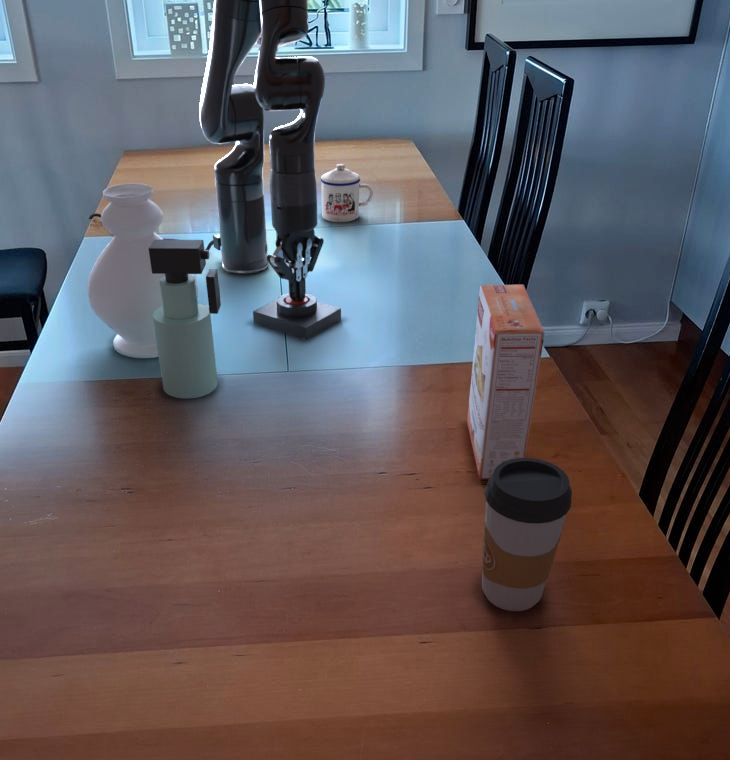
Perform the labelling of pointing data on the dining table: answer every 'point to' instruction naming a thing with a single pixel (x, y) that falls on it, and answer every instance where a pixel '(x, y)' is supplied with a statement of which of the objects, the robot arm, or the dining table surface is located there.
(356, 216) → the teacup with lid
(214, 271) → the trigger
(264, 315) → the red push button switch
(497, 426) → the cracker box
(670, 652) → the dining table surface
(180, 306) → the spray bottle
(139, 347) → the decorative vase
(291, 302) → the button
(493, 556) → the coffee cup
